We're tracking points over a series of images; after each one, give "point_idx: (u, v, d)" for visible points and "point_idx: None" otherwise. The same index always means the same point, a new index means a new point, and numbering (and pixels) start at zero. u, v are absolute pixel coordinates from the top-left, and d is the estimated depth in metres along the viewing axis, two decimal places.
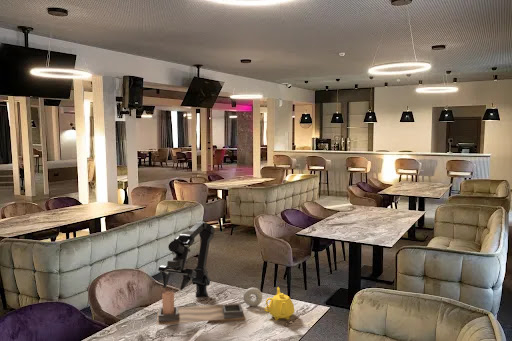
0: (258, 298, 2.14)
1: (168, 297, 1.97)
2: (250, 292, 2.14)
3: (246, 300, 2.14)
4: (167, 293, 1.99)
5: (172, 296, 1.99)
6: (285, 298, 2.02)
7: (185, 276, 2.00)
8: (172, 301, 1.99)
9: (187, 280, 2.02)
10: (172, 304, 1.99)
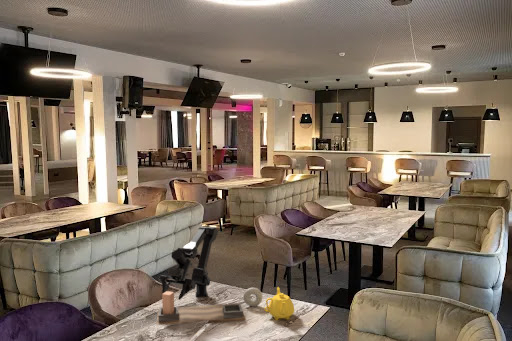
0: (258, 298, 2.14)
1: (168, 297, 1.97)
2: (250, 292, 2.14)
3: (246, 300, 2.14)
4: (167, 293, 1.99)
5: (172, 296, 1.99)
6: (285, 298, 2.02)
7: (184, 285, 2.01)
8: (172, 301, 1.99)
9: (186, 291, 2.03)
10: (172, 304, 1.99)
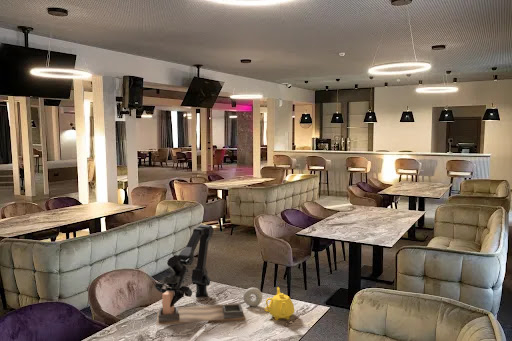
0: (258, 298, 2.14)
1: (168, 297, 1.97)
2: (250, 292, 2.14)
3: (246, 300, 2.14)
4: (167, 293, 1.99)
5: (172, 296, 1.99)
6: (285, 298, 2.02)
7: (176, 292, 1.99)
8: None
9: (178, 298, 2.01)
10: None
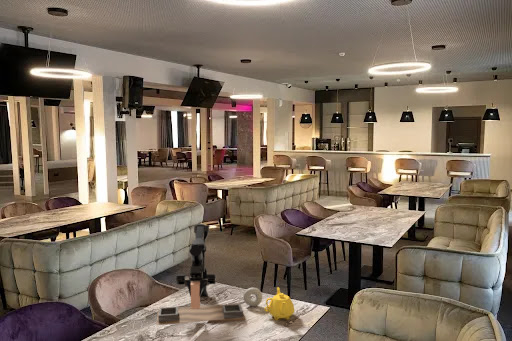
0: (258, 298, 2.14)
1: (197, 287, 1.94)
2: (250, 292, 2.14)
3: (246, 300, 2.14)
4: (194, 283, 1.96)
5: (199, 285, 1.97)
6: (285, 298, 2.02)
7: (203, 281, 1.98)
8: (199, 290, 1.97)
9: (203, 286, 2.00)
10: (199, 293, 1.97)
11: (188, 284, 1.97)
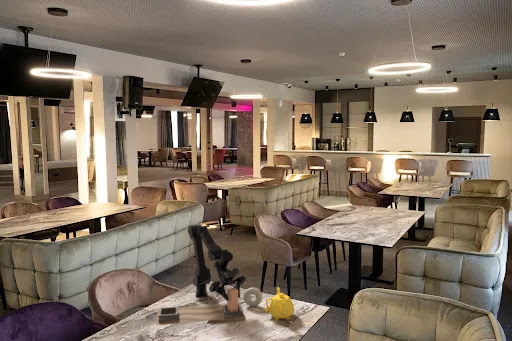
0: (258, 298, 2.14)
1: (237, 293, 2.02)
2: (250, 292, 2.14)
3: (246, 300, 2.14)
4: (232, 290, 2.02)
5: None
6: (285, 298, 2.02)
7: (239, 283, 2.06)
8: None
9: (237, 288, 2.07)
10: None
11: (223, 290, 2.01)
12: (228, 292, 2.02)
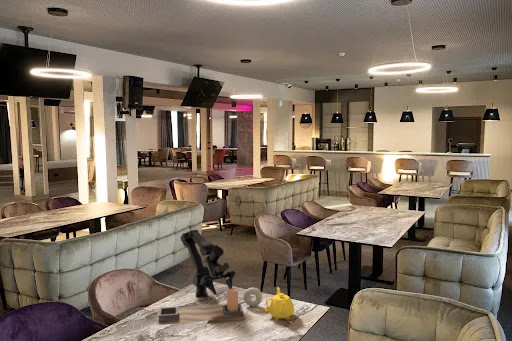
0: (258, 298, 2.14)
1: (237, 293, 2.01)
2: (250, 292, 2.14)
3: (246, 300, 2.14)
4: (232, 290, 2.02)
5: None
6: (285, 298, 2.02)
7: (231, 277, 2.14)
8: None
9: None
10: None
11: (211, 284, 2.07)
12: (228, 292, 2.02)
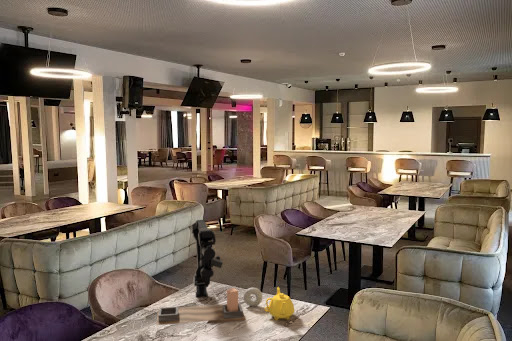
0: (258, 298, 2.14)
1: (237, 293, 2.01)
2: (250, 292, 2.14)
3: (246, 300, 2.14)
4: (232, 290, 2.02)
5: None
6: (285, 298, 2.02)
7: None
8: None
9: None
10: None
11: (210, 277, 2.07)
12: (228, 292, 2.02)
